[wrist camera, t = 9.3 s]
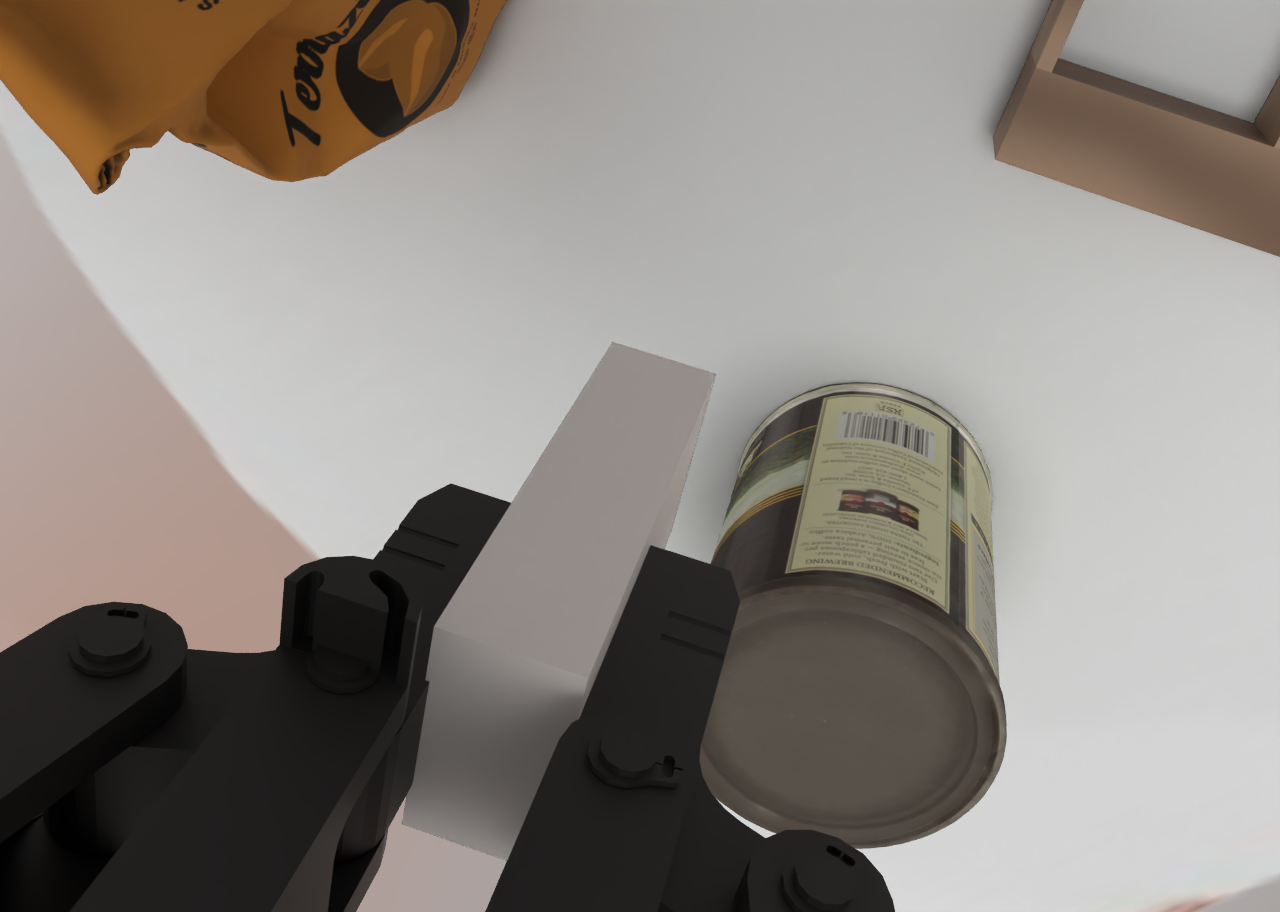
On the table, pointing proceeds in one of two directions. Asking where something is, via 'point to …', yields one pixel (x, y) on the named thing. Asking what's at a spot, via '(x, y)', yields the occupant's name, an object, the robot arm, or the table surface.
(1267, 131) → the trap deck
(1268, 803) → the table surface
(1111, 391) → the table surface
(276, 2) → the coffee package
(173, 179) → the table surface
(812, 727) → the coffee can
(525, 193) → the table surface
